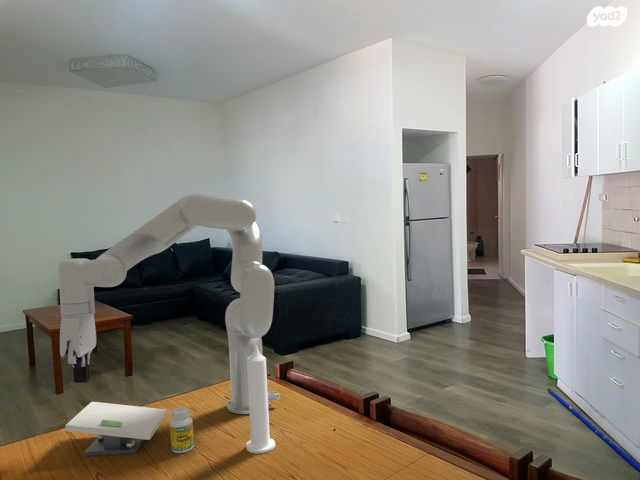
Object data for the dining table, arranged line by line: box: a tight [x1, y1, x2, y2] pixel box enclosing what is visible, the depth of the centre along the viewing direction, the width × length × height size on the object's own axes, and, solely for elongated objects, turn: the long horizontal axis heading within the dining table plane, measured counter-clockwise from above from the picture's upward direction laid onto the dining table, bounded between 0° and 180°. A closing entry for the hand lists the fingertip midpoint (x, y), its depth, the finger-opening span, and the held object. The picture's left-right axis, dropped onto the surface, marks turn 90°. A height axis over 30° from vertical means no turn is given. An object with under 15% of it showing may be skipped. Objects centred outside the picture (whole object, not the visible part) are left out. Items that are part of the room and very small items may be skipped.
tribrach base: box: [84, 434, 146, 457], centre depth 124 cm, size 12×13×4 cm
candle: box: [245, 345, 276, 455], centre depth 118 cm, size 7×7×25 cm
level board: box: [64, 401, 168, 441], centre depth 124 cm, size 20×14×3 cm
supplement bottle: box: [169, 406, 195, 454], centre depth 119 cm, size 5×5×10 cm
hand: (82, 381), depth 123 cm, fingers closed
